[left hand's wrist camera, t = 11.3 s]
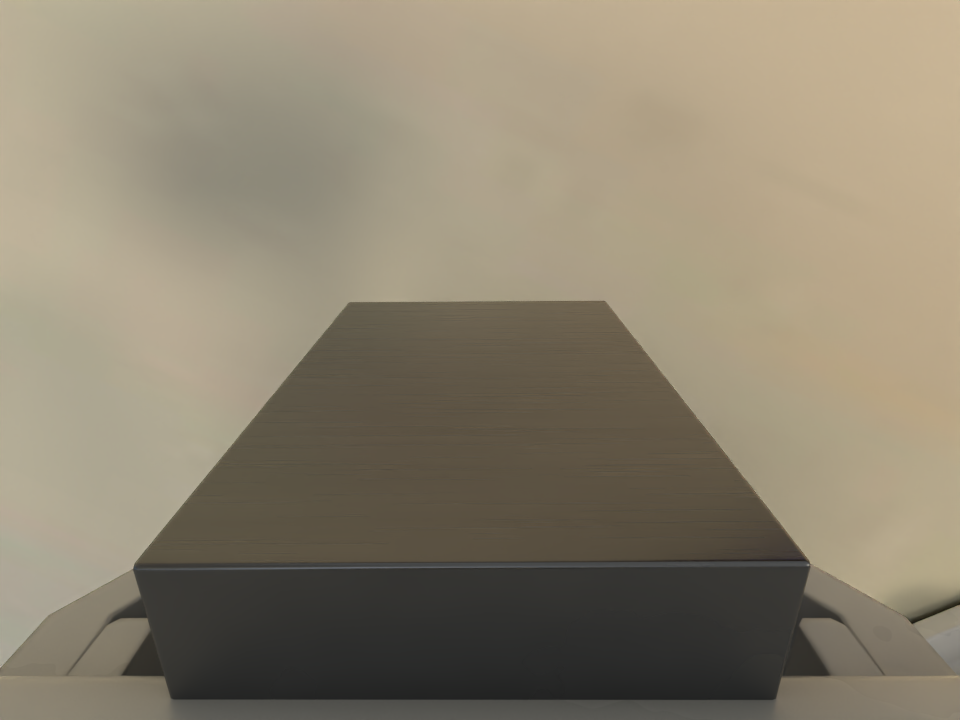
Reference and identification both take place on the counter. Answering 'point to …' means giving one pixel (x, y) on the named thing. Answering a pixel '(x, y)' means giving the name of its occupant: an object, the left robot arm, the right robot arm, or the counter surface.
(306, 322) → the counter surface
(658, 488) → the bar
